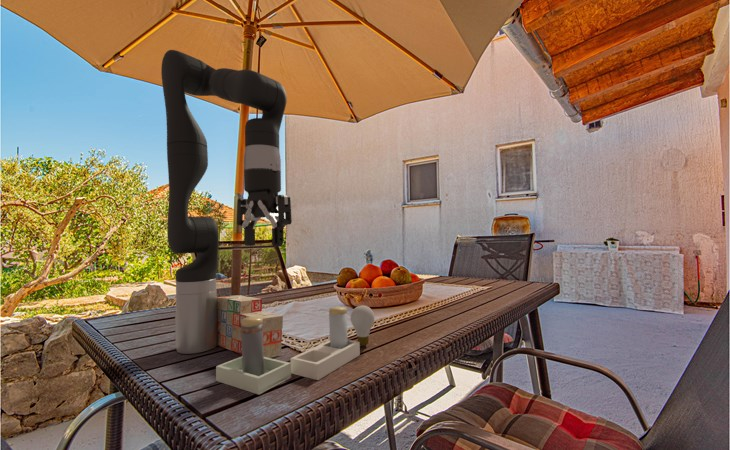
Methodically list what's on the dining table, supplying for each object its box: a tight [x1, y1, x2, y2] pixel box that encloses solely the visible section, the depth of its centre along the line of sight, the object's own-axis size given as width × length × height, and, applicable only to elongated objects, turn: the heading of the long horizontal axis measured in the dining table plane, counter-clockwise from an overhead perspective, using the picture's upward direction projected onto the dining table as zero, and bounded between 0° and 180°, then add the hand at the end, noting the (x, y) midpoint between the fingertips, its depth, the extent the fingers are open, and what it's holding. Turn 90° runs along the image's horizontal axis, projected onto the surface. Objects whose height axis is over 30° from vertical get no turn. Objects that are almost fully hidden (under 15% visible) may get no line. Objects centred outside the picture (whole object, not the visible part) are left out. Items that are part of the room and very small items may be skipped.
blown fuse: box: [241, 317, 264, 376], centre depth 66 cm, size 4×4×11 cm
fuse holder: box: [290, 339, 361, 381], centre depth 73 cm, size 7×15×3 cm, turn 149°
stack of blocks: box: [217, 294, 284, 359], centre depth 84 cm, size 21×6×12 cm, turn 49°
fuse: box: [328, 306, 349, 349], centre depth 77 cm, size 4×4×11 cm
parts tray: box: [215, 355, 292, 395], centre depth 66 cm, size 12×8×3 cm, turn 58°
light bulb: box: [350, 305, 375, 348], centre depth 84 cm, size 6×6×10 cm
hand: (263, 245), depth 72 cm, fingers open, 8 cm apart
